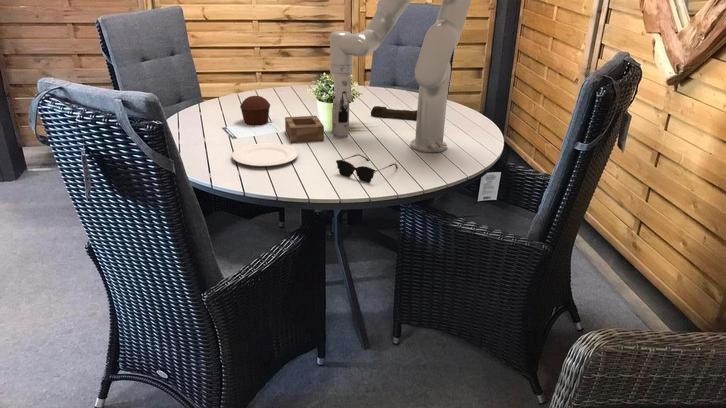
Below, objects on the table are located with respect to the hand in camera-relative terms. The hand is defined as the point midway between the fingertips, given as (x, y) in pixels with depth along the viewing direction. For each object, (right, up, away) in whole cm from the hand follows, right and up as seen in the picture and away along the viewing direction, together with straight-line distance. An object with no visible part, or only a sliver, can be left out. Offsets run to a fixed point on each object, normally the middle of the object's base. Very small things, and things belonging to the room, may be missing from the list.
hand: (340, 119), depth 193 cm
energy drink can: (0, -6, +3) cm, 6 cm away
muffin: (-33, +1, +15) cm, 36 cm away
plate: (-23, -16, -20) cm, 35 cm away
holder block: (-13, -6, +1) cm, 14 cm away
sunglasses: (+10, -21, -28) cm, 36 cm away
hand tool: (+20, +4, +25) cm, 33 cm away
